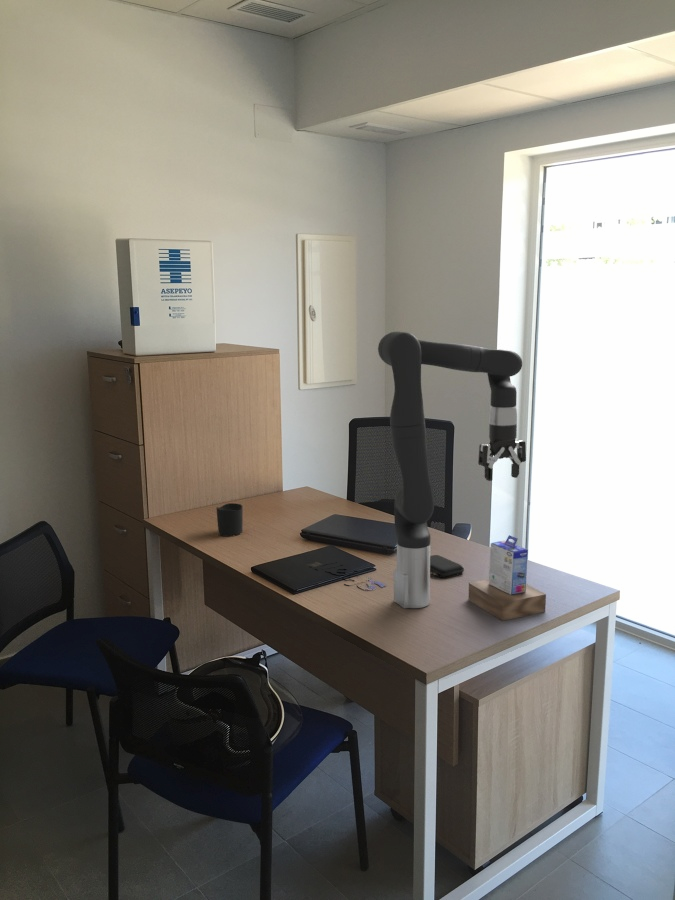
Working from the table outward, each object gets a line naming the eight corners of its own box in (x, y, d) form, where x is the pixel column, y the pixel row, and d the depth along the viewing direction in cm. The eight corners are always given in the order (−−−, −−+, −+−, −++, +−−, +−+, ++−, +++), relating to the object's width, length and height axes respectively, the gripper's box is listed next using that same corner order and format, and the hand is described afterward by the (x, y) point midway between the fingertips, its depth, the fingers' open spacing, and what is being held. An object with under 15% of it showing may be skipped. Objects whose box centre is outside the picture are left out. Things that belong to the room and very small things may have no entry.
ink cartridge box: (527, 592, 210) (529, 541, 207) (511, 596, 207) (513, 544, 204) (503, 580, 218) (504, 531, 215) (487, 584, 216) (489, 534, 213)
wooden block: (502, 620, 204) (502, 602, 203) (468, 599, 218) (468, 582, 217) (545, 611, 209) (545, 594, 208) (509, 591, 223) (510, 575, 223)
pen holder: (245, 535, 279) (244, 509, 278) (218, 537, 277) (217, 511, 275) (241, 528, 288) (240, 502, 286) (216, 530, 286) (215, 504, 284)
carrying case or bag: (410, 567, 246) (439, 581, 233) (410, 558, 245) (439, 572, 233) (436, 561, 251) (466, 574, 239) (437, 552, 250) (466, 565, 238)
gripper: (488, 426, 209) (487, 484, 212) (532, 421, 215) (530, 478, 218) (473, 422, 216) (473, 478, 219) (516, 418, 221) (515, 473, 225)
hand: (501, 478), depth 218 cm, fingers open, 8 cm apart
